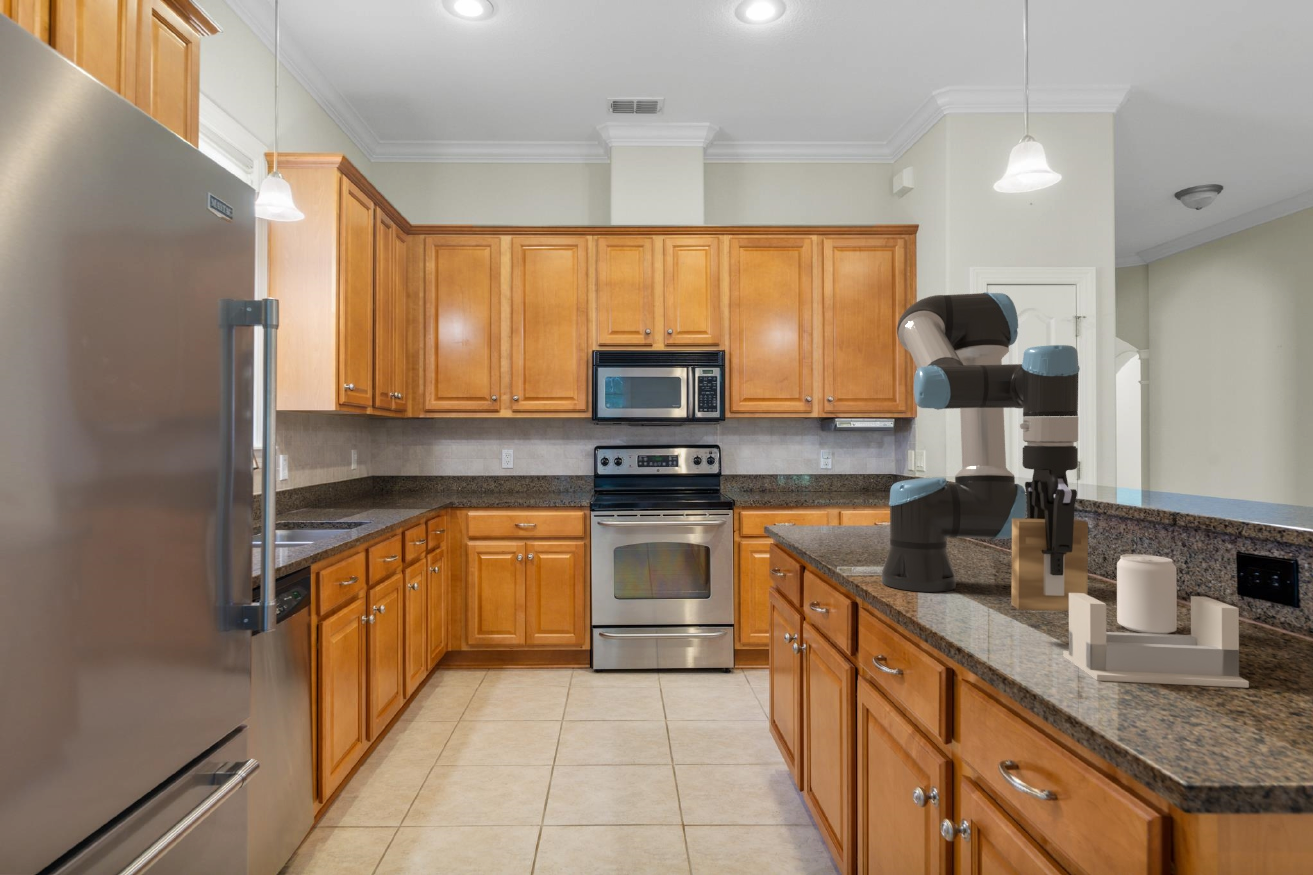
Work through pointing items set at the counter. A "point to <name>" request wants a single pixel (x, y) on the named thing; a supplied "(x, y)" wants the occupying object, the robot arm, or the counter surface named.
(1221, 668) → the door track
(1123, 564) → the beverage can
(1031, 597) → the door panel
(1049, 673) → the counter surface
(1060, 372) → the robot arm
